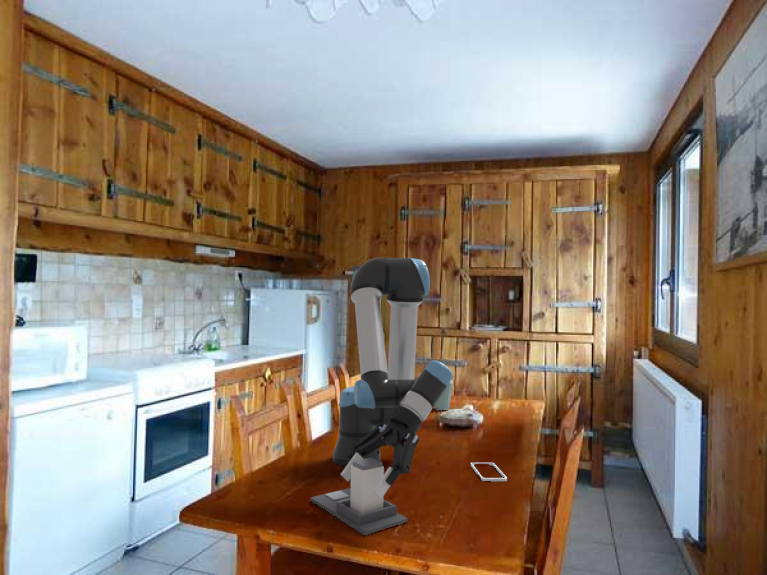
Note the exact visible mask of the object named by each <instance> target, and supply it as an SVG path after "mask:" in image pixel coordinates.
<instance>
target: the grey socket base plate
mask: <svg viewBox="0 0 767 575" xmlns="http://www.w3.org/2000/svg"><path fill="white" fill-rule="evenodd" d="M350 494H351V487H349V488H344V489H340V490H336V491H332V492H328V493H323V494H320V495H315V496H312V497H310V502H311V501H312V502H313V503H312V502H311V503H312V504H314V503H315V504H317V505H318V506H317V505H316V506H317V507H319V506H320V507H321V508H320V507H319V508H320V509H322V508H323V509H325V510H326V511H328V512H329V513H328V512H327V513H328V514H330V513H331V514H332V515H331V514H330V515H331V516H333V515H334V516H336V517H337V518H336V517H335V518H336V519H337V520H339V519H340V522H342V521H343V522H342V523H344V522H345V523H346V525H347V526H348V527H349V528H352V529H353V528H354V529H353V530H355V529H356V530H355V531H357V532H358V531H359V532H358V533H359V534H361V533H362V534H361V535H363V536H364V535H367V536H369V535H368V534H370V535H372V534H371V533H373V534H375V533H374V532H376V531H379V530H382V529H385V528H388V527H392V526H395V525H399V524H402V523H404V522H409V521H408V520H409V519H408V517H406V516H405V515H402V514H400V513H398V506H397V505H396V504H394V503H392V502H390V501H388V500H387V499H384V498H383V508H382V509H378V510H374V511H371V512H367V513H364V514H359V513H357V512H356V511H354V510H352V509H351V508H350ZM315 504H314V505H315ZM323 509H322V510H323ZM325 510H324V511H325ZM326 511H325V512H326ZM334 516H333V517H334ZM345 523H344V524H345ZM402 525H403V524H402ZM399 526H400V525H399ZM376 533H377V532H376Z"/></svg>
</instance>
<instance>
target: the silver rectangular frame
mask: <svg viewBox="0 0 767 575" xmlns="http://www.w3.org/2000/svg"><path fill="white" fill-rule="evenodd" d="M475 464H478V465H479V464H482V465H484V464H487V465H488V466H491V467H493V468H496V469H495V470H496V471H497V472H498V473H499V474H500V476H502V477H483V476H482V475H481V473H480V472H479V470H478V469H477V468H476V467H475ZM470 467H471V468H472V470H473V471H474V472H475V474H476V475H478V476H479V478H480V480H481V482H484V481H491V482H507V481H508V477H507V476H506V475H505V474H504V472H503V471H502V470H501V469H500V468H499V467H498V466H497V465H496V463H494V462H470ZM503 477H504V478H503Z"/></svg>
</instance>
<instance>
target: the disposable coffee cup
mask: <svg viewBox="0 0 767 575" xmlns="http://www.w3.org/2000/svg"><path fill="white" fill-rule="evenodd" d="M453 384H454V382H453V379H452V380H451V382H450V384H449V386H448V387H447V388H446V390H445V391H444V392H443V394H442V395H441V397H440V398H439V400H438V401H437V402H436V404H435V405H434V409H436V410H435V411H438V410H441V411H440V412H443V411H442V410H447V409H450V404H451V397H452V389H453ZM447 411H448V410H447Z"/></svg>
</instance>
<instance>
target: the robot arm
mask: <svg viewBox="0 0 767 575" xmlns="http://www.w3.org/2000/svg"><path fill="white" fill-rule="evenodd" d="M430 288H431V280H430V272H429V269H428V266H427V264H426V263H425V261H423V260H422V259H418V258H412V257H411V258H410V257H407V258H406V257H395V258H394V257H373V258H371V259H368V260H367V261H365V262H364V263H362V265H361V266H359V268H358V269H357V271H356V272H355V274H354V275H353V278H352V280H351V285H350V301H352V303H353V304H354V309H355V310H354V311H355V319H356V320H355V322H356V332H357V333H356V334H357V344H358V346H357V347H358V356H359V357H358V358H359V370H360V379H358V380H356V381H355V382H354V385H352V386H349V387H346V388H343V390H342V391H341V392H340V393H339V402H338V407H339V412H338V414H339V416H338V419H339V420H338V436H337V437H338V438H337V439H336V440H337V441H336V443H335V446H334V449H333V451H332V462H335V465H336V464H337V465H338V466H341V467H344V469H343V470H342V472H340V475H339V476H341V477H342V478H343V479H344V480H345V481H347V482H349V481H351V465H353V461H357V460H362V459H367V458H374V459H376V460H378V461H381V450H380V448H382V447H386V446H389V447H392V448H393V453H392V454H393V456H392V464H391V465H390V466H388V468H387V470H386V471H385V472H384V475H383V477H382V478H381V480H380V481H379V483H378V484H377V486H376V487H375V489H374V490H373V492H374V493H375V494H376V495H377V496H378V497H379V498H381V499H382V498H383V499H384V496H385V494H386V493H388V492H387V491H388V490H389V488H390V487H392V486H393V484H394V483H395V482H396V480H397V478H399V476H400V475H402V474H405V475H408V474H409V473H410V471H411V467H412V462H413V458H414V455H415V451H416V447H417V444H418V443H419V442H420V438H419V436H418V435H417V432H418V431H419V429H420V428H421V427H422V425H423V424H422V423H423V422H425V420H426V419H427V417H429V416H428V415H429V414H430V413H431V412H432V410H433V408H435V406H434V405H435V404H436V402H437V401H438V400H439V398H440V397H441V395H442V394H443V392H444V391H445V390H446V388H447V387H448V386H449V384H450V382H451V380H452V381H453V378H454V374H453V372H452V370H451V369H450V368H449V366H447V365H446V364H445V363H442V361H441V362H440V361H438V360H430V361H429V362H428V364H427V365H426V366H425V367H424V369H423V370H422V372H421V373H419V375H418V376H417V377H416V378H415V374H416V373H415V370H416V353H417V352H416V350H417V347H416V346H417V329H418V328H417V326H418V310H419V309H418V308H419V306H420V305H421V304H422V303H424V297H426V296H428V295H429V294H430ZM383 295H384V296H386V302H387V303H388V304H389V305H390V315H389V316H390V317H389V319H390V320H389V340H388V341H389V342H388V363H387V353H386V345H385V336H384V328H383V317H382V309H381V300H382V299H383Z"/></svg>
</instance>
